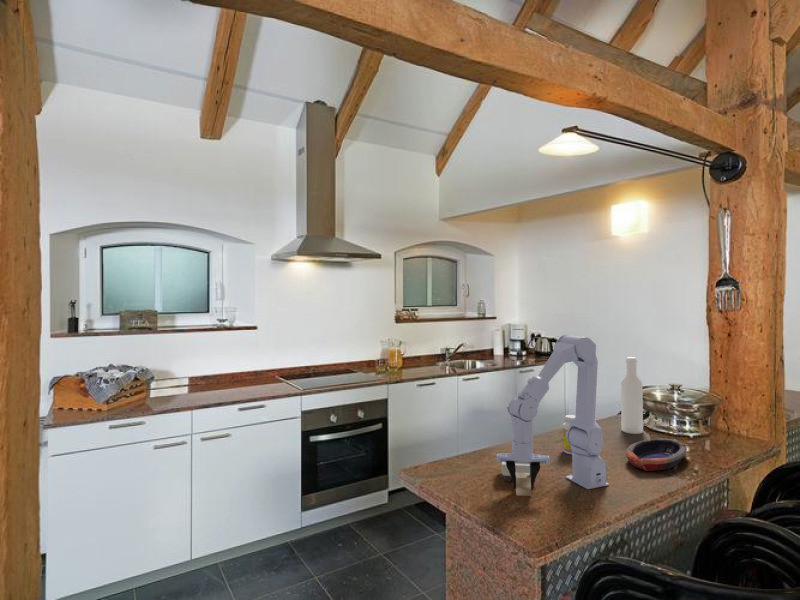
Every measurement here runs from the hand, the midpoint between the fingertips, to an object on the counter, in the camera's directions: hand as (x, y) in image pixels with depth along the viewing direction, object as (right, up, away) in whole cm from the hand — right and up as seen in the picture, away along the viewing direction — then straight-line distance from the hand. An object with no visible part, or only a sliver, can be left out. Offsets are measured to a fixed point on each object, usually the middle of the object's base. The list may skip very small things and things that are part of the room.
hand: (523, 487), depth 134 cm
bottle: (+59, 0, +57) cm, 82 cm away
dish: (+50, -1, +23) cm, 55 cm away
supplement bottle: (+26, -1, +33) cm, 42 cm away
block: (0, -1, 0) cm, 1 cm away
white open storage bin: (+1, -1, +11) cm, 11 cm away
